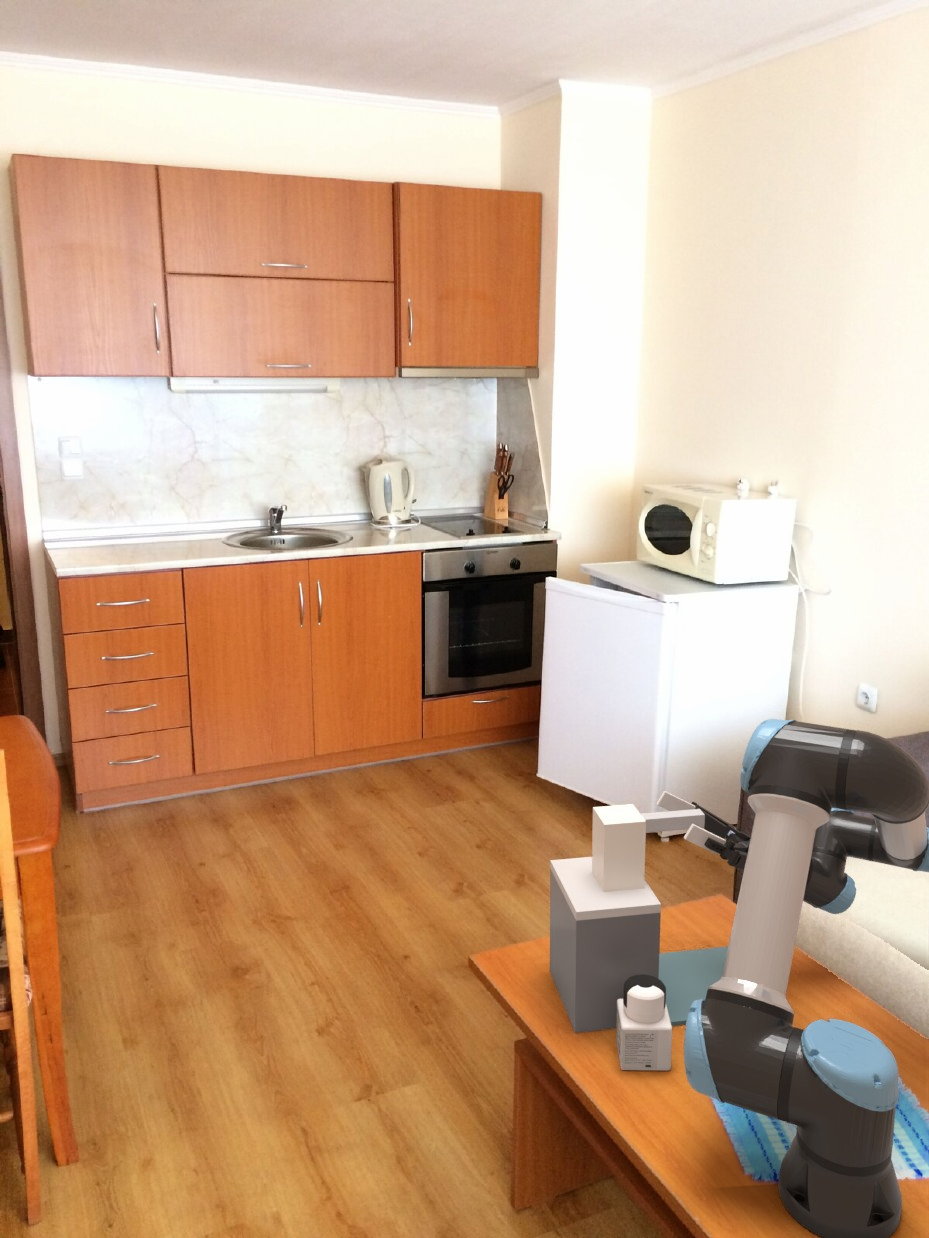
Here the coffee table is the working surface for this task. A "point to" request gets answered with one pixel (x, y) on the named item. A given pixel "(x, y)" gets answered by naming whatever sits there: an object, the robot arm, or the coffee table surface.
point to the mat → (689, 978)
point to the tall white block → (630, 842)
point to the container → (643, 1025)
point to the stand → (598, 942)
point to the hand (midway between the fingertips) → (674, 813)
